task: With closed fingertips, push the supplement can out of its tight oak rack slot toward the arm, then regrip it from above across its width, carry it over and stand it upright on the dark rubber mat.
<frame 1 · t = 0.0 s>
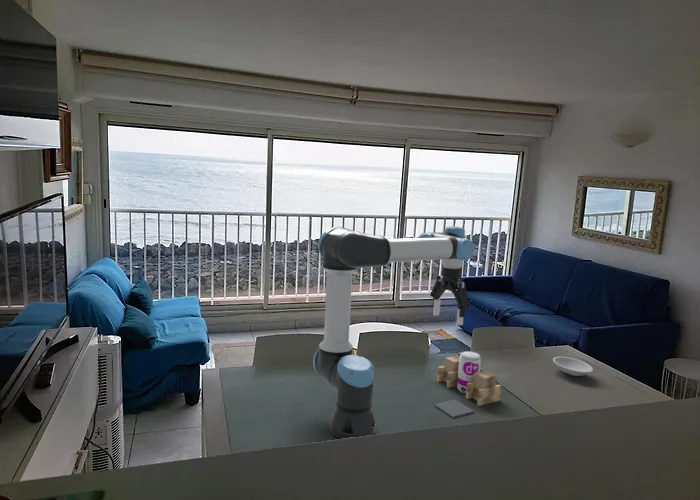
hand: (447, 319, 191), 28 cm above the table, fingers open, 13 cm apart
rack: (467, 390, 194), on the table
dish: (571, 375, 216), on the table
supplement can: (467, 390, 194), on the table
mat: (453, 409, 178), on the table
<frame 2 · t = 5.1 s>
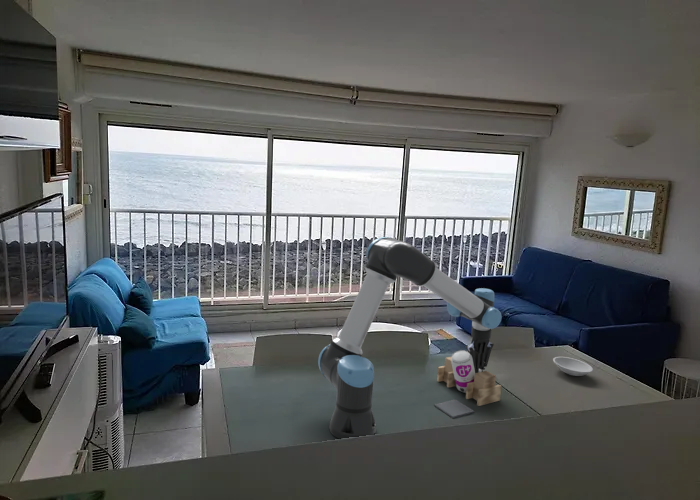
hand: (476, 384, 196), 2 cm above the table, fingers closed
supplement can: (467, 387, 194), point 1 cm above the table, touching gripper, hand
everything else where it was.
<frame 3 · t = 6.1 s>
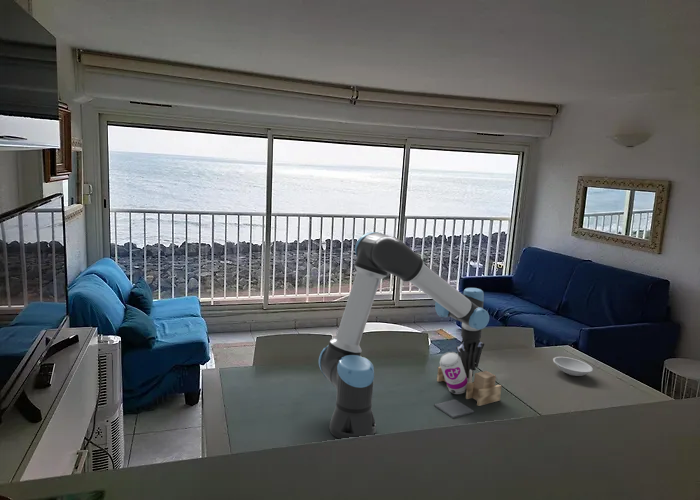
hand: (467, 384, 194), 2 cm above the table, fingers closed
supplement can: (459, 388, 192), point 2 cm above the table, touching gripper, hand
everything else where it was.
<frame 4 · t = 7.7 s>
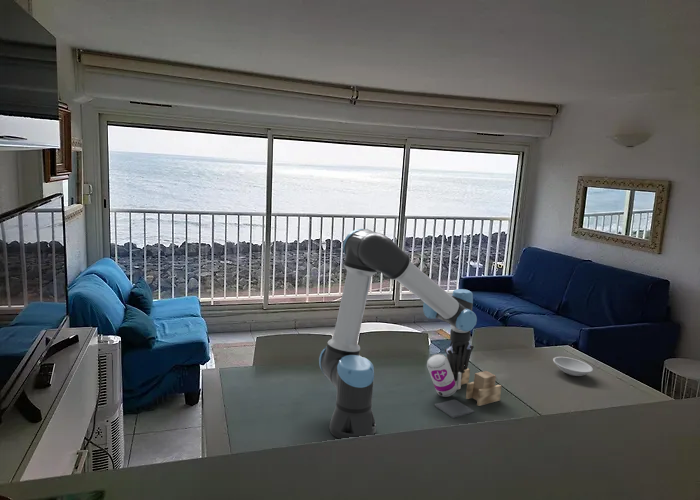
hand: (456, 387, 191), 2 cm above the table, fingers closed
supplement can: (447, 390, 189), point 2 cm above the table, touching gripper, hand
everything else where it was.
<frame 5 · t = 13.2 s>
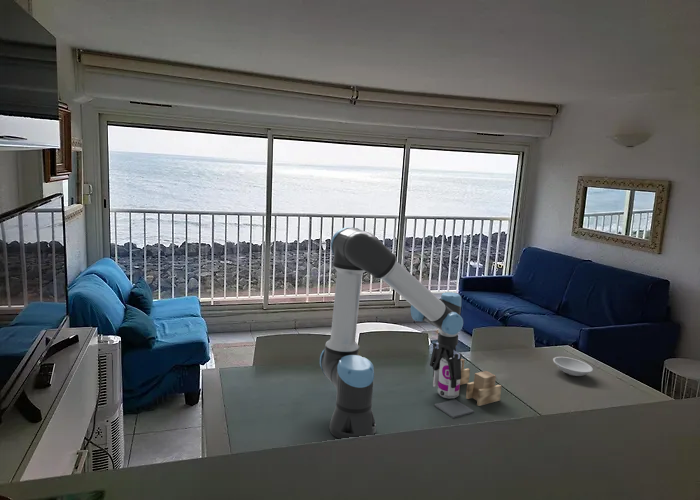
hand: (443, 390, 188), 2 cm above the table, fingers closed on supplement can, 8 cm apart
supplement can: (447, 395, 189), on the table, touching gripper
everything else where it was.
when the fingers open (4 cm above the table, at t = 18.6 s): supplement can stays where it is, resting on mat.
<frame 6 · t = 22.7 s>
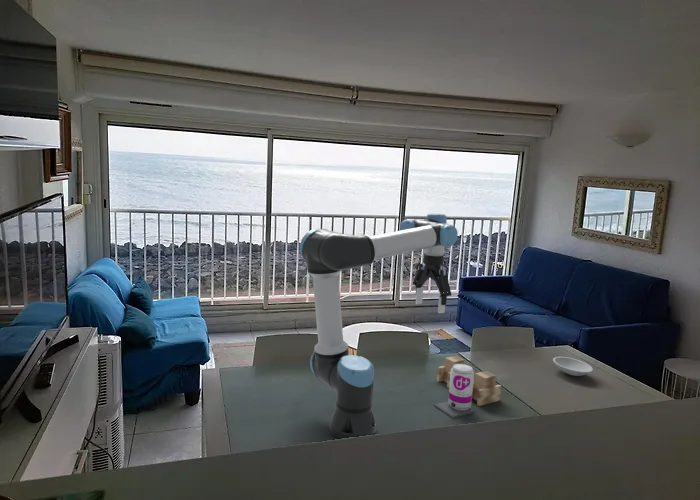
hand: (429, 308, 189), 33 cm above the table, fingers open, 13 cm apart
supplement can: (459, 406, 179), resting on mat
everything else where it was.
at the end: supplement can inside the target area on the mat (2.6 cm from its centre), point 0.4 cm above the mat's base; supplement can tilted 0°; the gripper is holding nothing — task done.
